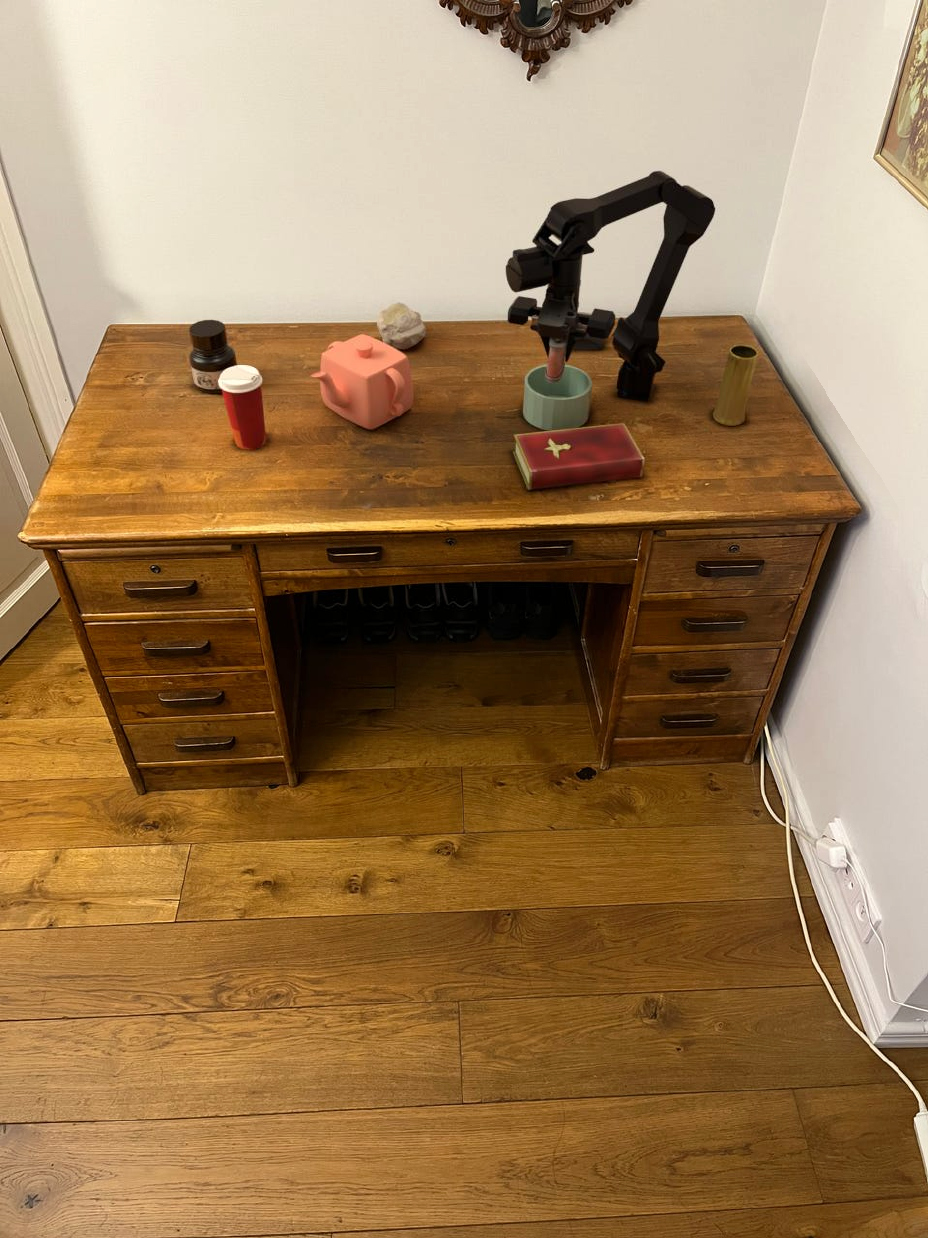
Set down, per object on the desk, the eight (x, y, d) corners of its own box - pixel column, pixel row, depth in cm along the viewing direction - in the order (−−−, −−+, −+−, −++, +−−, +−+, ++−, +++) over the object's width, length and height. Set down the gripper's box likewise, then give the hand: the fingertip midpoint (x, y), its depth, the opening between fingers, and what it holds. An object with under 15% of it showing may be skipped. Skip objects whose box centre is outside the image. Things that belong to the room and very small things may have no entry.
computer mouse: (604, 350, 208) (606, 333, 206) (551, 349, 208) (552, 332, 206) (601, 335, 213) (603, 318, 210) (550, 335, 213) (551, 317, 210)
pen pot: (595, 402, 194) (599, 370, 189) (579, 436, 185) (582, 404, 180) (533, 390, 197) (535, 358, 192) (514, 423, 188) (516, 391, 183)
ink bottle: (184, 388, 196) (172, 333, 188) (208, 367, 202) (198, 313, 193) (226, 398, 193) (216, 343, 185) (249, 377, 199) (240, 322, 191)
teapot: (284, 415, 190) (275, 350, 180) (358, 376, 200) (353, 313, 190) (354, 456, 180) (349, 390, 170) (428, 414, 190) (427, 349, 180)
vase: (747, 413, 192) (764, 347, 182) (740, 429, 188) (756, 362, 178) (717, 406, 193) (731, 340, 183) (709, 421, 189) (723, 355, 179)
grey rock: (432, 332, 214) (387, 332, 215) (428, 294, 208) (382, 295, 210) (422, 356, 204) (375, 356, 206) (418, 317, 199) (370, 317, 201)
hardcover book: (642, 478, 176) (645, 458, 173) (528, 491, 173) (530, 471, 170) (621, 440, 184) (624, 421, 181) (512, 452, 181) (513, 433, 178)
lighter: (560, 384, 182) (567, 335, 174) (542, 381, 182) (548, 332, 175) (566, 361, 187) (573, 313, 180) (549, 359, 188) (555, 310, 180)
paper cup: (278, 434, 185) (269, 367, 175) (259, 456, 180) (248, 389, 170) (241, 426, 187) (229, 360, 177) (221, 448, 181) (208, 381, 172)
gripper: (499, 291, 168) (497, 372, 179) (605, 308, 164) (596, 390, 175) (518, 264, 176) (515, 343, 187) (620, 279, 172) (611, 359, 182)
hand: (558, 359), depth 183 cm, fingers closed on lighter, 3 cm apart
